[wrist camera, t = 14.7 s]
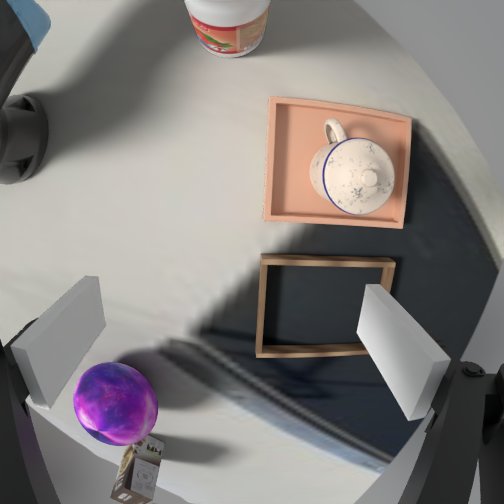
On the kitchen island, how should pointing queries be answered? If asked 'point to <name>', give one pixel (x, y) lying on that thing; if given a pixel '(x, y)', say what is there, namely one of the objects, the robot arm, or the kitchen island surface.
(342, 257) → the walnut corral
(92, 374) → the decorative orb
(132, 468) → the coffee box
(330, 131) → the teacup with lid
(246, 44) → the fruit juice
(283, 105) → the terracotta dish
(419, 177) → the kitchen island surface
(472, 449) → the robot arm
